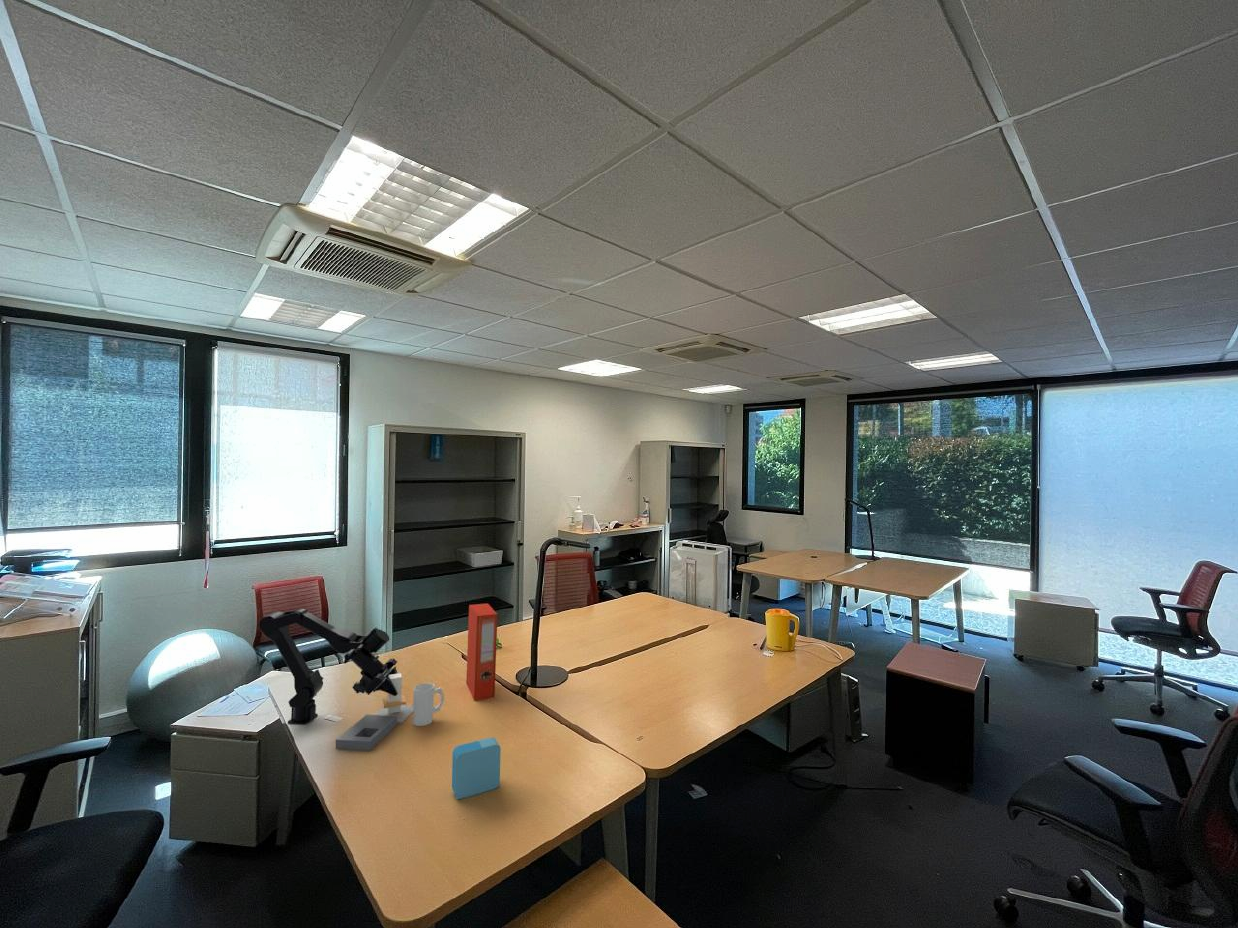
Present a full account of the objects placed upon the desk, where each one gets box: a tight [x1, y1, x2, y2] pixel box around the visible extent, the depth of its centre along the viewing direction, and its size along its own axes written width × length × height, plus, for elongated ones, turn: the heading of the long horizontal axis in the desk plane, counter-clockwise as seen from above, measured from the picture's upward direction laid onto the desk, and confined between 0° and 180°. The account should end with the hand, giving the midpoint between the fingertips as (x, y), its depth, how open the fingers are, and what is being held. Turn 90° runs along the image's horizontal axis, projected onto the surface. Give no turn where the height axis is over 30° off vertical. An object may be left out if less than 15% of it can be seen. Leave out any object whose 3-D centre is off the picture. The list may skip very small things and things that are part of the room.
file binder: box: [465, 603, 499, 701], centre depth 195 cm, size 8×17×32 cm, turn 27°
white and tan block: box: [382, 672, 407, 714], centre depth 173 cm, size 7×7×12 cm
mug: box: [412, 682, 445, 727], centre depth 169 cm, size 10×7×12 cm, turn 116°
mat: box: [374, 704, 414, 724], centre depth 173 cm, size 12×12×1 cm
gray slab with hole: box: [335, 714, 398, 752], centre depth 158 cm, size 11×16×3 cm
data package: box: [451, 737, 502, 800], centre depth 133 cm, size 12×4×12 cm, turn 120°
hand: (398, 691), depth 174 cm, fingers closed on white and tan block, 5 cm apart
